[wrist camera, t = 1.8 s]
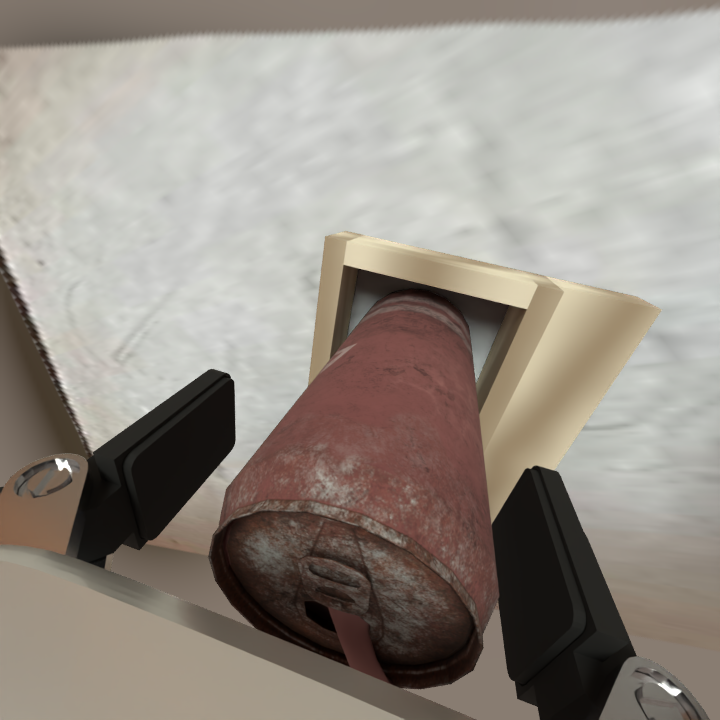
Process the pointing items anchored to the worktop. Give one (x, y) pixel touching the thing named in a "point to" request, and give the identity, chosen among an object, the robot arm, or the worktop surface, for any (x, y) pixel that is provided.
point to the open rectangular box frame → (504, 346)
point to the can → (372, 506)
